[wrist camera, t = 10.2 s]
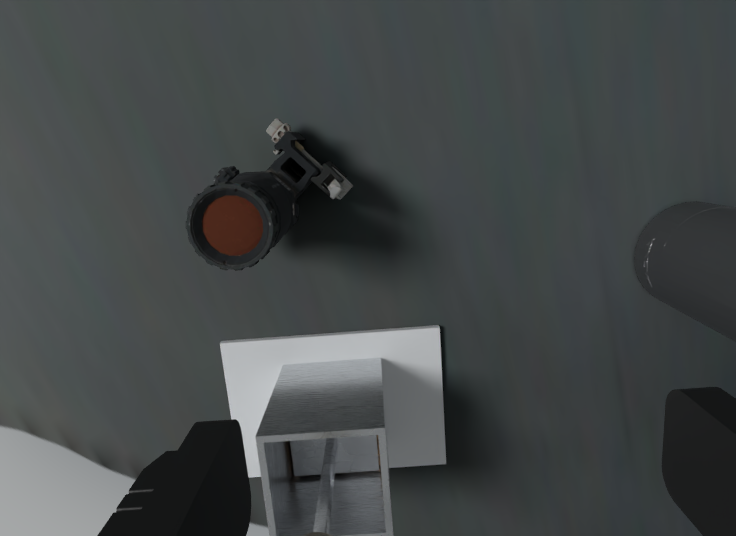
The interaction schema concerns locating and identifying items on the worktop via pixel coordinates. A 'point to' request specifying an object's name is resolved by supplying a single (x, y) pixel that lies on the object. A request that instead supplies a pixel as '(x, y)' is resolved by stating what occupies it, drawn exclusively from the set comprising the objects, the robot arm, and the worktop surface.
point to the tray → (394, 346)
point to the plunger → (332, 467)
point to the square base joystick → (318, 421)
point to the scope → (257, 204)
